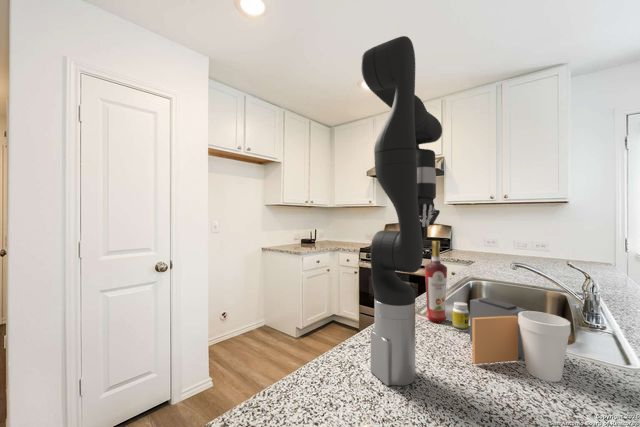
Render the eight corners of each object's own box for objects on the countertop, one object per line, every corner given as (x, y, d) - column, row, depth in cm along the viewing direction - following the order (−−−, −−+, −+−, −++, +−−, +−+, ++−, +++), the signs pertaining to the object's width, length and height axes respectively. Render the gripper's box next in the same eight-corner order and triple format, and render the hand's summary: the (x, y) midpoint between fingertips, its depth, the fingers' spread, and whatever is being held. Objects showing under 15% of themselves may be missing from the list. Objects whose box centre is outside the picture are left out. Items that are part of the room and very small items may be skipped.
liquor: (443, 317, 100) (443, 240, 100) (450, 324, 93) (449, 242, 93) (422, 315, 101) (422, 240, 101) (427, 323, 94) (427, 241, 94)
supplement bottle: (467, 333, 86) (467, 306, 86) (451, 329, 89) (451, 303, 89) (469, 328, 90) (469, 302, 90) (454, 325, 92) (454, 300, 93)
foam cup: (549, 389, 58) (549, 327, 58) (509, 366, 67) (508, 313, 67) (581, 382, 60) (580, 323, 61) (538, 360, 69) (537, 309, 70)
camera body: (513, 360, 70) (513, 310, 70) (470, 340, 81) (470, 298, 81) (527, 355, 72) (526, 307, 73) (483, 337, 83) (483, 295, 83)
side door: (518, 360, 68) (517, 316, 69) (474, 364, 67) (474, 319, 67) (515, 359, 69) (515, 315, 69) (472, 362, 68) (472, 317, 68)
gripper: (416, 179, 79) (416, 239, 78) (447, 184, 85) (447, 240, 84) (398, 183, 86) (397, 238, 85) (428, 187, 92) (427, 239, 91)
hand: (422, 239), depth 84 cm, fingers closed
